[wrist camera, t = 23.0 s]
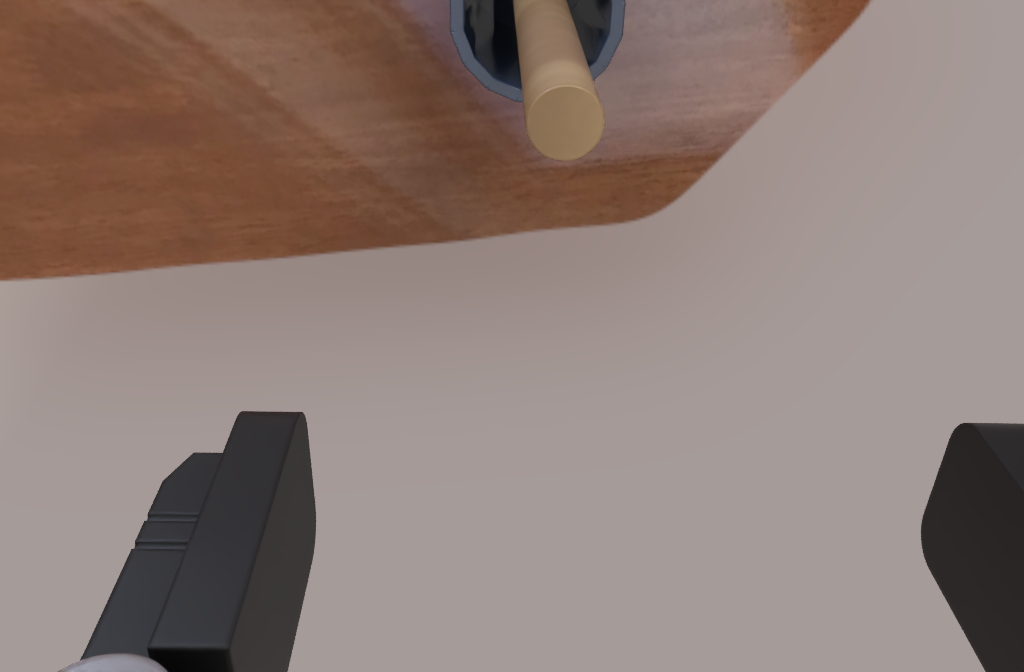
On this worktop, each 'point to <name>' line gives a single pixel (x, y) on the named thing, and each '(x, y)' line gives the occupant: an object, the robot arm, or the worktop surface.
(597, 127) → the wooden stirring stick
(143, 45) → the worktop surface
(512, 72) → the crock
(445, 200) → the worktop surface
